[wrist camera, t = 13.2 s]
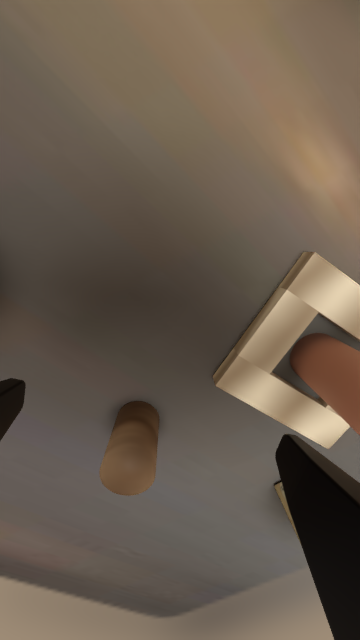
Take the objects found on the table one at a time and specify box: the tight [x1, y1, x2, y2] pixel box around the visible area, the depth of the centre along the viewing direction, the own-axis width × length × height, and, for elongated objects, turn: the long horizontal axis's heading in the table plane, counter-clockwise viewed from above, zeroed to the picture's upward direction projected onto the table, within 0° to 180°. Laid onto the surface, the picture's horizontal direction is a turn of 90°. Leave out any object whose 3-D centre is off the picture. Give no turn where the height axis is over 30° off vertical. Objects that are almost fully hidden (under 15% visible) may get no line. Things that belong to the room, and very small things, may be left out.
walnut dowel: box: [100, 401, 159, 495], centre depth 21 cm, size 4×4×6 cm
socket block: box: [213, 252, 360, 449], centre depth 21 cm, size 13×13×2 cm
